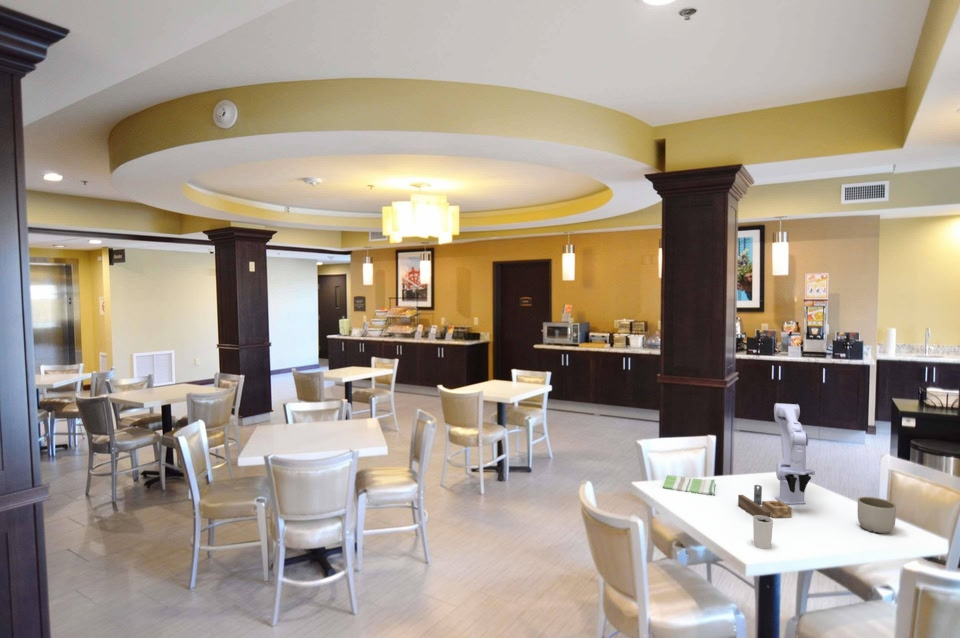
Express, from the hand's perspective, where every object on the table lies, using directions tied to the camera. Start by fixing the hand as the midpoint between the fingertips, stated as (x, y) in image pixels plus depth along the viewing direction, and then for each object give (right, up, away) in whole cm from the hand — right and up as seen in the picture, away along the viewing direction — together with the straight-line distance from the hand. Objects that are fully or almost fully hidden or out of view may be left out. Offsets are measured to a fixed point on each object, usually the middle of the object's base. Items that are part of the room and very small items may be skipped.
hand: (797, 491), depth 238 cm
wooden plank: (-19, -9, -1) cm, 21 cm away
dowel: (-11, -9, +11) cm, 18 cm away
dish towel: (-33, -9, +33) cm, 48 cm away
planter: (+23, -10, -15) cm, 29 cm away
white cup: (-30, -11, -31) cm, 44 cm away
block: (-9, -9, 0) cm, 13 cm away
